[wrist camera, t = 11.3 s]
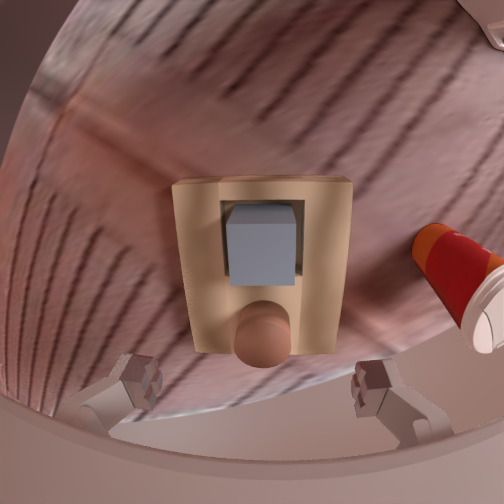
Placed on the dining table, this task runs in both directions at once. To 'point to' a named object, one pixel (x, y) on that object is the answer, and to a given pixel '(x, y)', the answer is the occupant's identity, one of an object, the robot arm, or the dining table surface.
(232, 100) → the dining table surface
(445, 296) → the paper cup
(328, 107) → the dining table surface
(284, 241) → the slate block
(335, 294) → the assembly board
